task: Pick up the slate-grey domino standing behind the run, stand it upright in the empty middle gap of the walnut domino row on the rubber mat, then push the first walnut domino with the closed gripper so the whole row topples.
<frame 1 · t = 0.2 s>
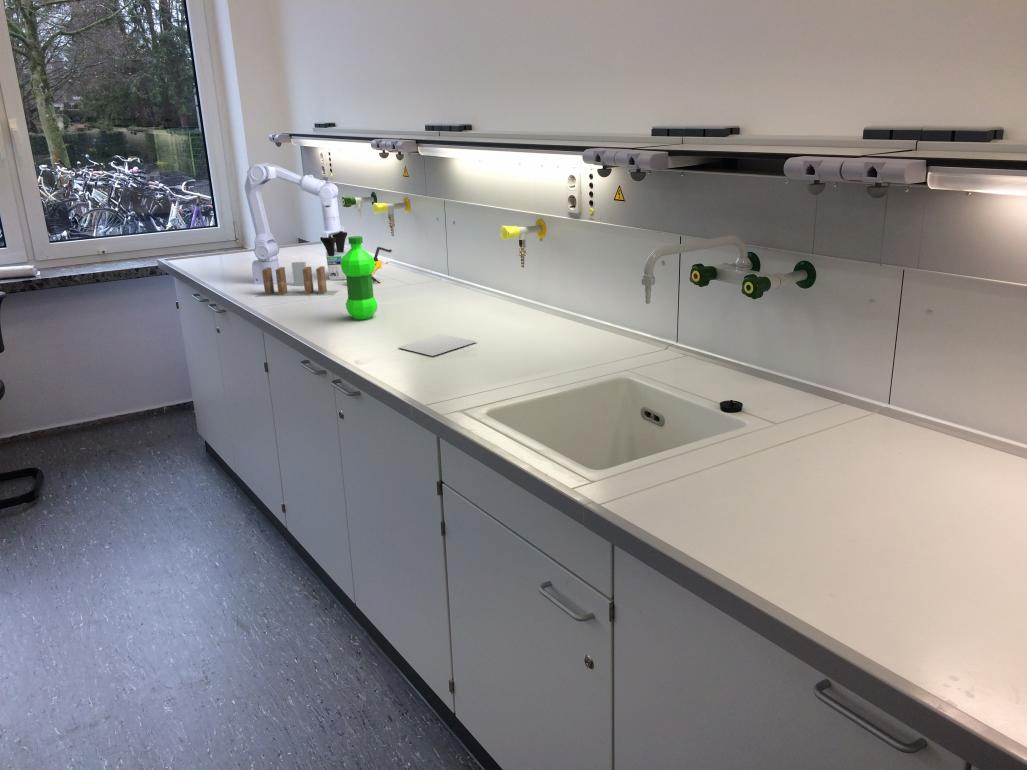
hand: (336, 254, 313), 11 cm above the counter, tool pointing down, fingers open, 7 cm apart
domino 4: (309, 293, 297), on the counter, touching rubber mat
domino 5: (322, 293, 297), on the counter, touching rubber mat
robot dog: (371, 284, 311), on the counter
domino 2: (283, 293, 298), on the counter, touching rubber mat
domino 1: (269, 293, 298), on the counter, touching rubber mat
rubber mat: (297, 294, 298), on the counter
light bulb box: (341, 277, 325), on the counter, touching gripper
grey flat square plate: (438, 354, 223), on the counter
grey domino: (301, 286, 311), on the counter
plastic bottle: (362, 318, 262), on the counter
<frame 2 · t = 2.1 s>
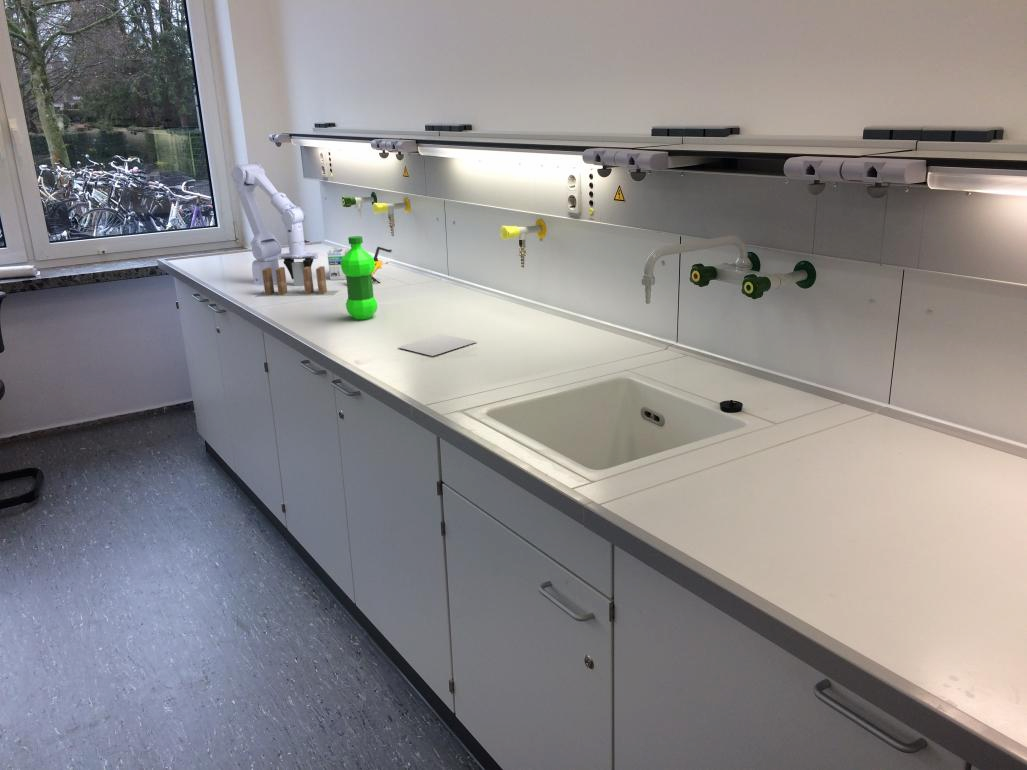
hand: (300, 278, 310), 3 cm above the counter, tool pointing down, fingers closed on grey domino, 5 cm apart
light bulb box: (340, 277, 325), on the counter
grey domino: (301, 286, 311), on the counter, touching gripper
everything else where it was.
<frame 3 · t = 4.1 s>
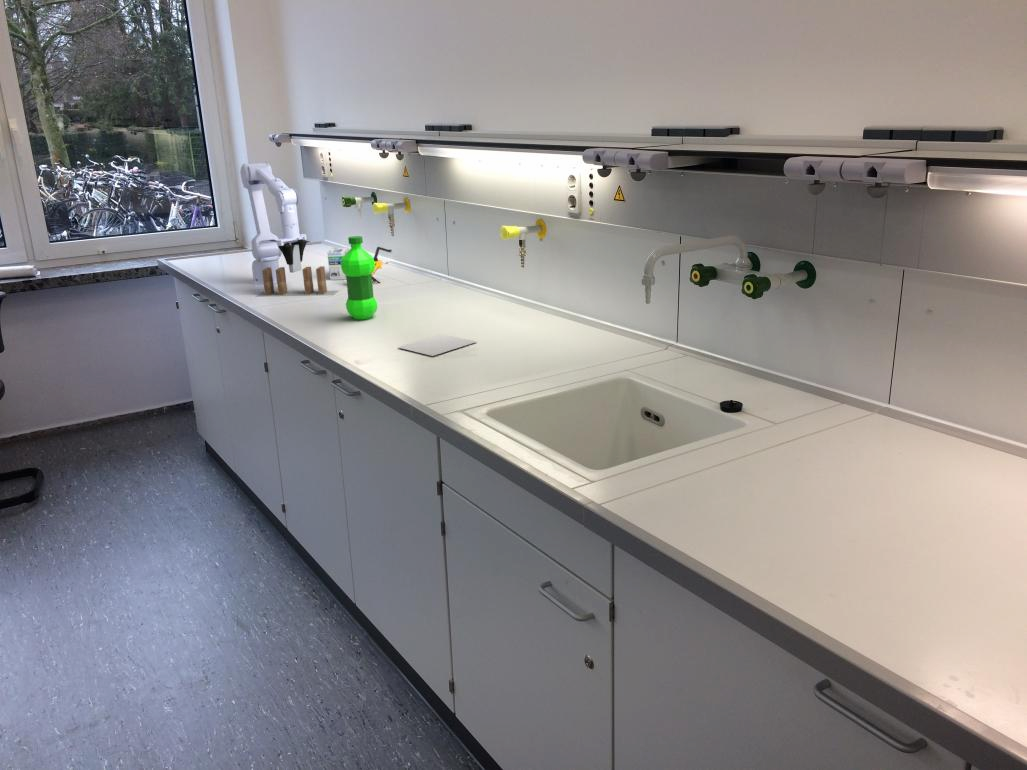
hand: (294, 263, 298), 11 cm above the counter, tool pointing down, fingers closed on grey domino, 5 cm apart
grey domino: (295, 271, 299), point 8 cm above the counter, touching gripper
everything else where it was.
when the fingers open (4 cm above the counter, at t = 6.4 s): grey domino stays where it is, resting on rubber mat.
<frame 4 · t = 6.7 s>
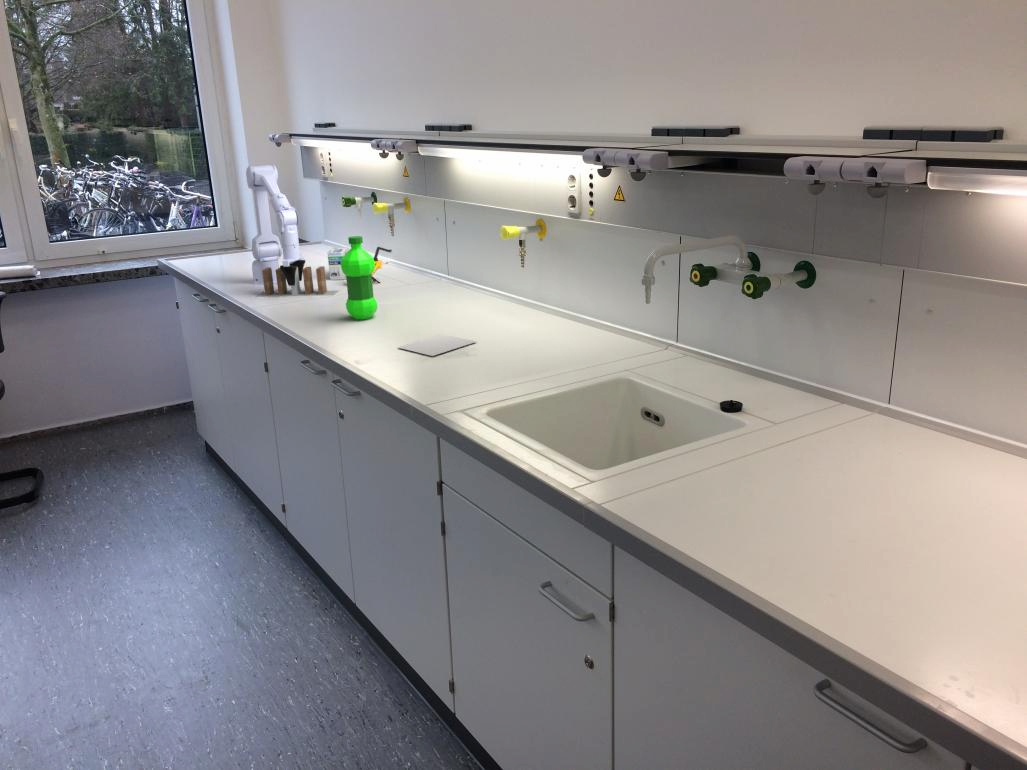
hand: (295, 283, 297), 4 cm above the counter, tool pointing down, fingers open, 7 cm apart
grey domino: (296, 293, 298), resting on rubber mat
everything else where it was.
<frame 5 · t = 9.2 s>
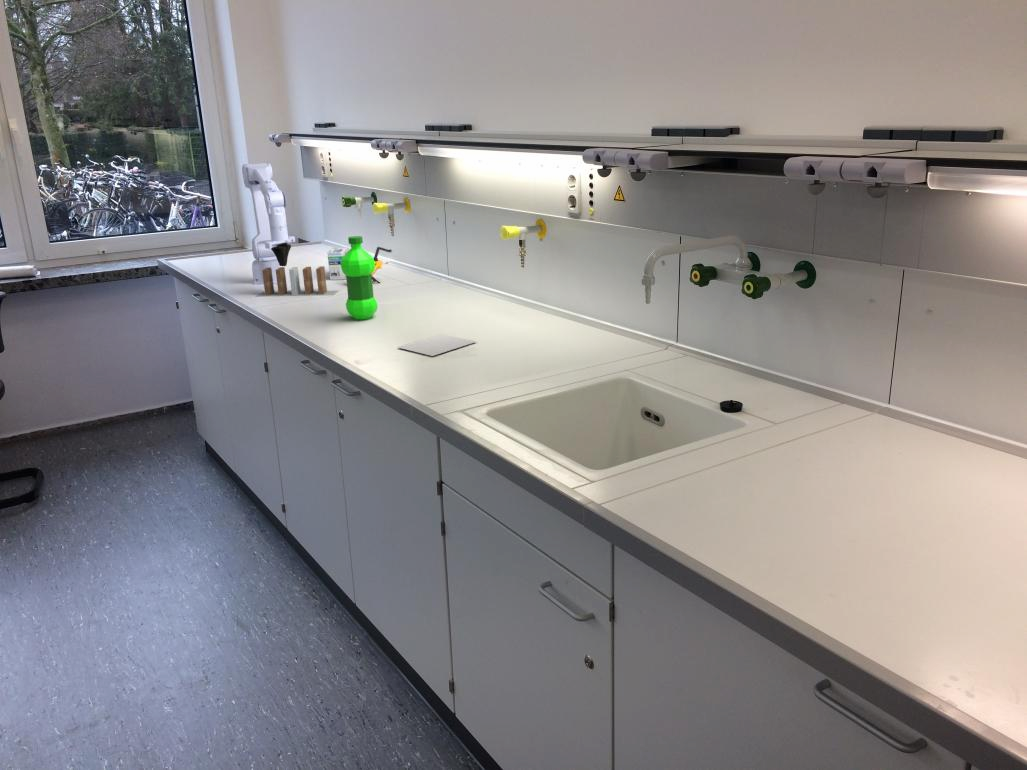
hand: (283, 265, 295), 10 cm above the counter, tool pointing down, fingers closed
nothing on the counter moved.
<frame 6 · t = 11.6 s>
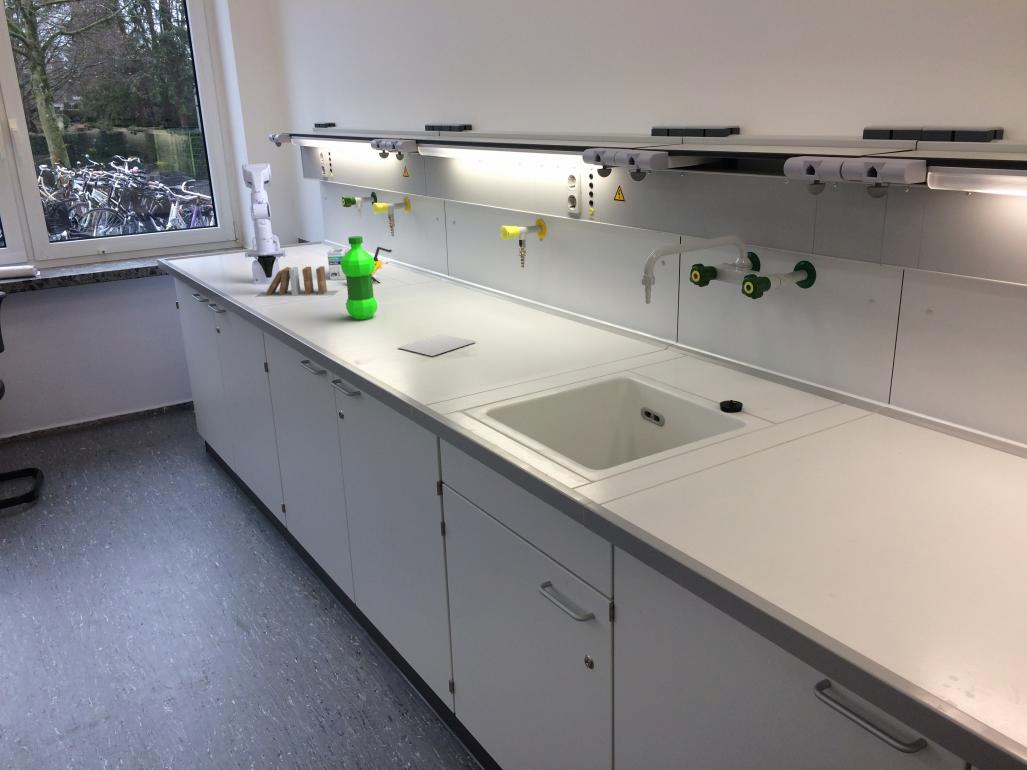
hand: (269, 277, 297), 6 cm above the counter, tool pointing down, fingers closed
domino 2: (283, 293, 298), point 1 cm above the counter, tilted 17°, touching rubber mat
domino 1: (270, 292, 298), point 1 cm above the counter, tilted 36°, touching rubber mat
everything else where it was.
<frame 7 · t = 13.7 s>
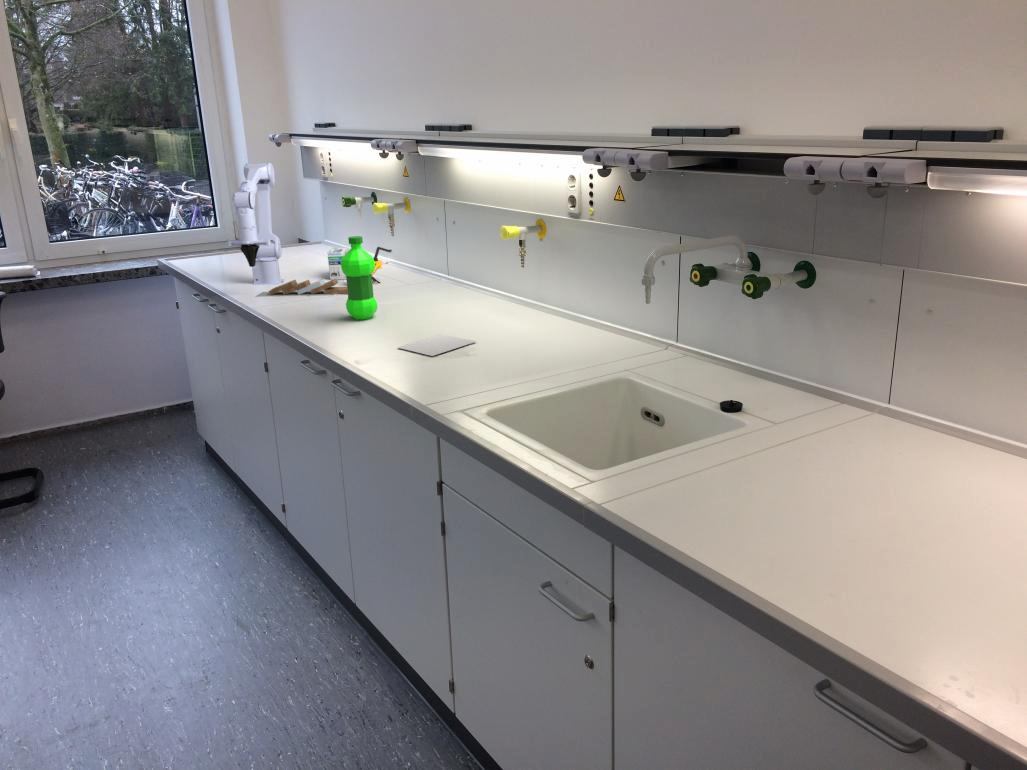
hand: (252, 266, 296), 10 cm above the counter, tool pointing down, fingers closed
domino 4: (313, 291, 297), point 1 cm above the counter, tilted 69°, touching domino 5, grey domino
domino 5: (325, 290, 297), point 1 cm above the counter, tilted 90°, touching domino 4, rubber mat
domino 2: (285, 291, 298), point 1 cm above the counter, tilted 71°, touching domino 1, grey domino, rubber mat
domino 1: (271, 291, 298), point 1 cm above the counter, tilted 70°, touching domino 2, rubber mat
grey domino: (299, 291, 297), point 1 cm above the counter, tilted 70°, touching domino 2, domino 4, rubber mat
everything else where it was.
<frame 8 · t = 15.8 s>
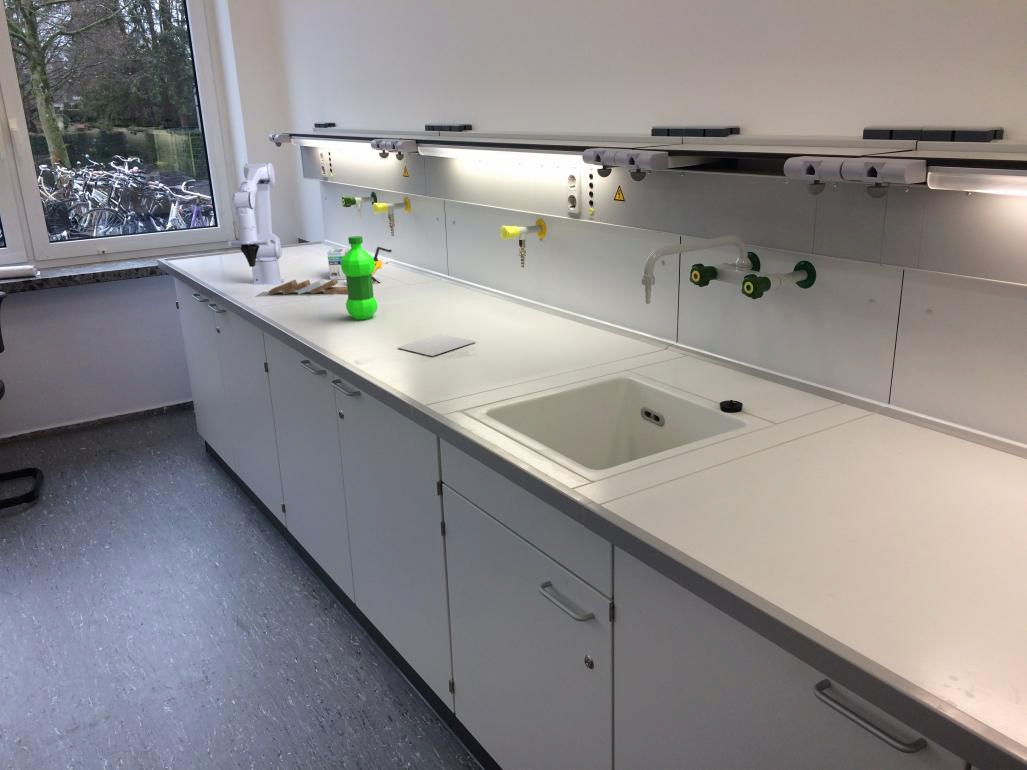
hand: (252, 266, 296), 10 cm above the counter, tool pointing down, fingers closed
domino 4: (313, 291, 297), point 1 cm above the counter, tilted 69°, touching domino 5, grey domino, rubber mat
everything else where it was.
at the end: domino 5 tilted 90°; grey domino 0.8 cm from the target spot, point 1.2 cm above the counter; grey domino tilted 70° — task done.
